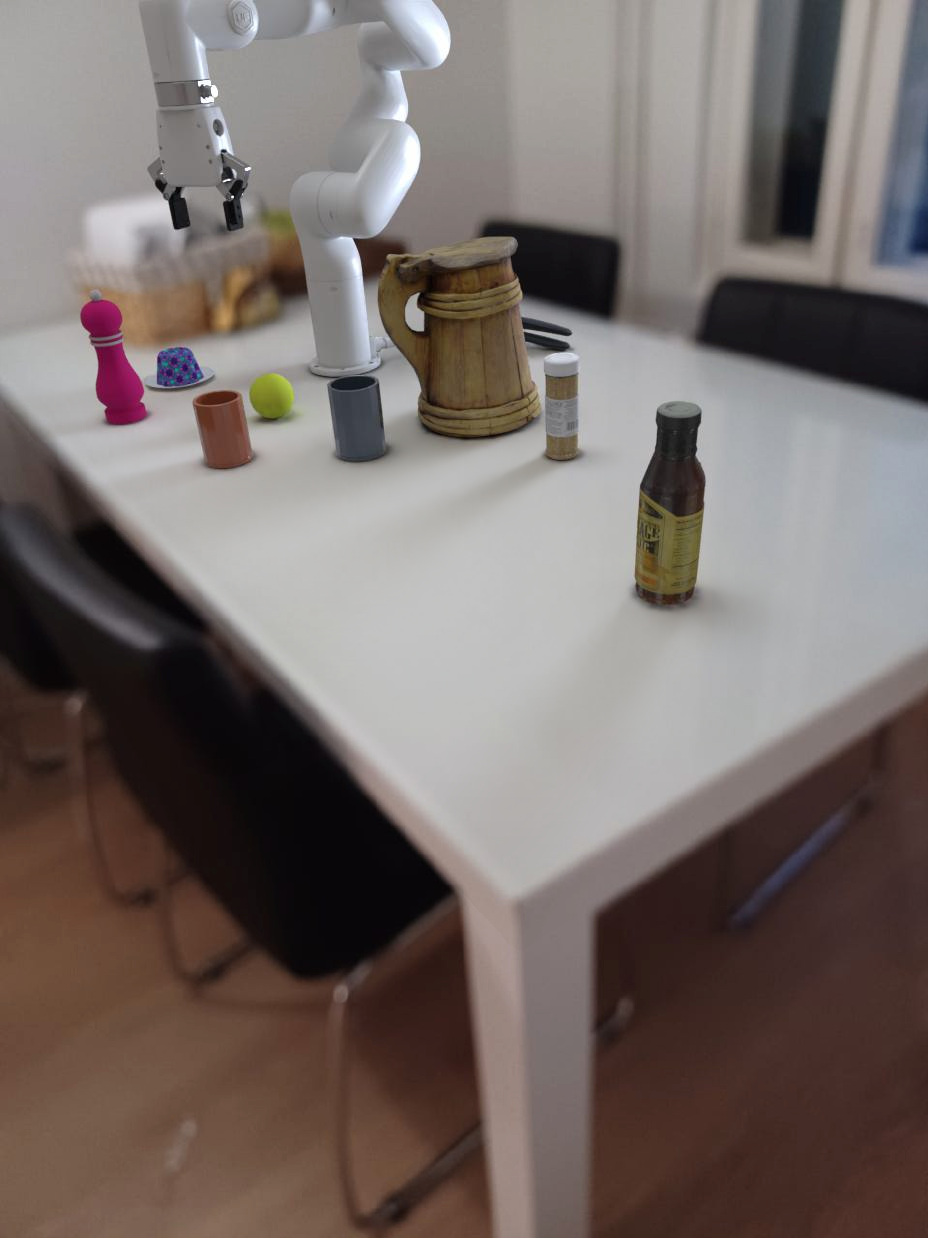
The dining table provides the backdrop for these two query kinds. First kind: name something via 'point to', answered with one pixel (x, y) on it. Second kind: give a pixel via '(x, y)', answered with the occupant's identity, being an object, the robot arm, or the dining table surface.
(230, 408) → the terracotta cup
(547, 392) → the sprinkles bottle
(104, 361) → the pepper mill
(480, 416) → the tankard
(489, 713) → the dining table surface
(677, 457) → the sauce bottle
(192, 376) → the pudding
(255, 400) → the ball
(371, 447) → the grey cup
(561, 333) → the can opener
